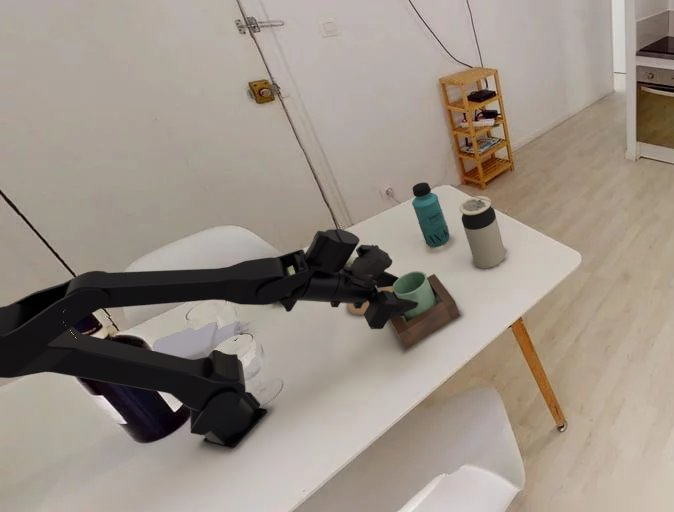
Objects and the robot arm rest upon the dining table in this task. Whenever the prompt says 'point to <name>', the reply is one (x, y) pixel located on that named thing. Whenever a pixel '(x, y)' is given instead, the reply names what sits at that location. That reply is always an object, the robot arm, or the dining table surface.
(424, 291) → the cup
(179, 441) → the dining table surface
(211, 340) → the charger
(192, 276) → the robot arm
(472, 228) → the travel mug
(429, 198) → the beverage bottle
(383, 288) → the coaster
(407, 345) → the cup holder
